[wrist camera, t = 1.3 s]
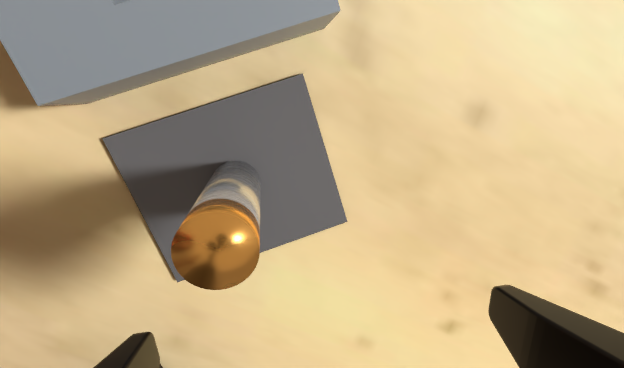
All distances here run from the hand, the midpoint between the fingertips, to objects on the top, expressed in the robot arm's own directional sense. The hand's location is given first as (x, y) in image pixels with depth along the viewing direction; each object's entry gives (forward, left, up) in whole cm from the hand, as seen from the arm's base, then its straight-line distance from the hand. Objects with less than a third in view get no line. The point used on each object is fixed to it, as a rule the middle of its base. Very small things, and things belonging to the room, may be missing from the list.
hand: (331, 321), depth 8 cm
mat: (-3, +1, -13) cm, 13 cm away
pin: (-3, +1, -13) cm, 13 cm away
